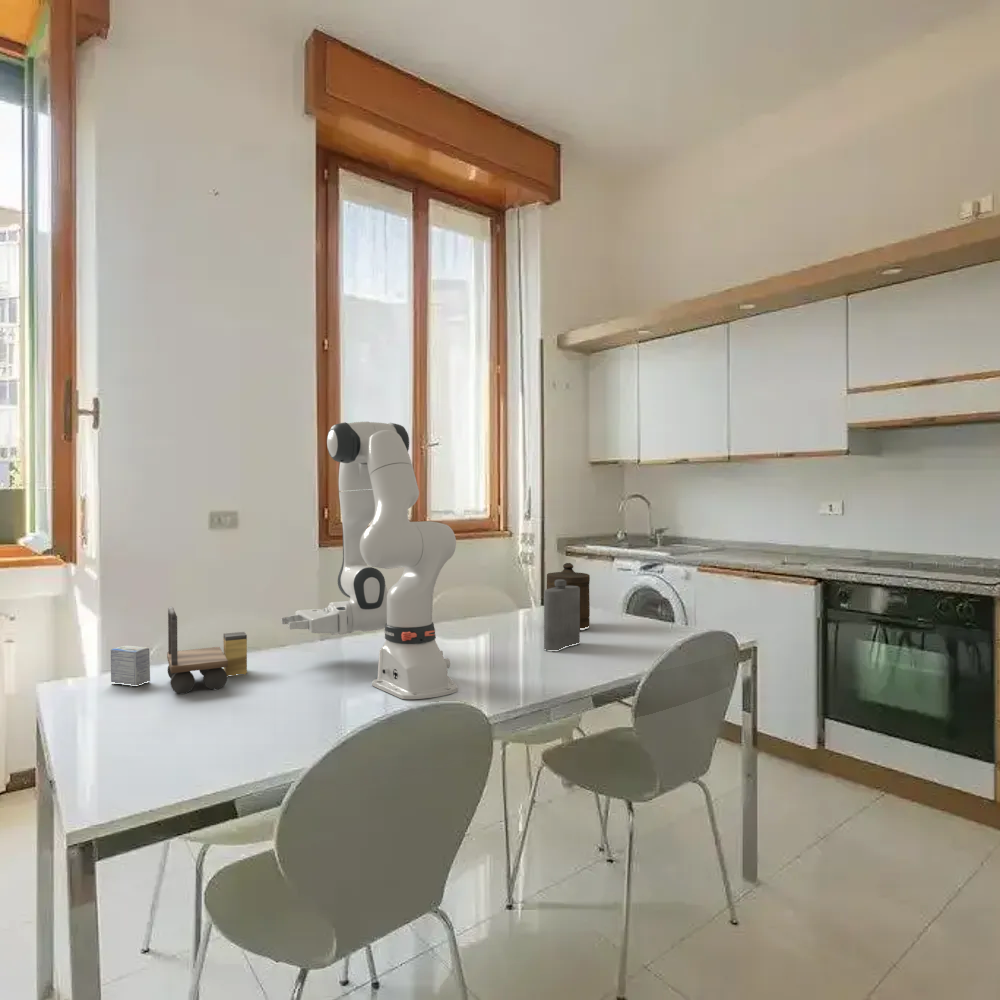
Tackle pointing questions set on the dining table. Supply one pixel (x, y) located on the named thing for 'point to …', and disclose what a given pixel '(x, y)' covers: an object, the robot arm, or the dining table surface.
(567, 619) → the flask
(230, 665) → the chock block
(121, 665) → the grey wood-grain block
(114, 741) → the dining table surface
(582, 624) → the wooden container
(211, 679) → the trolley
